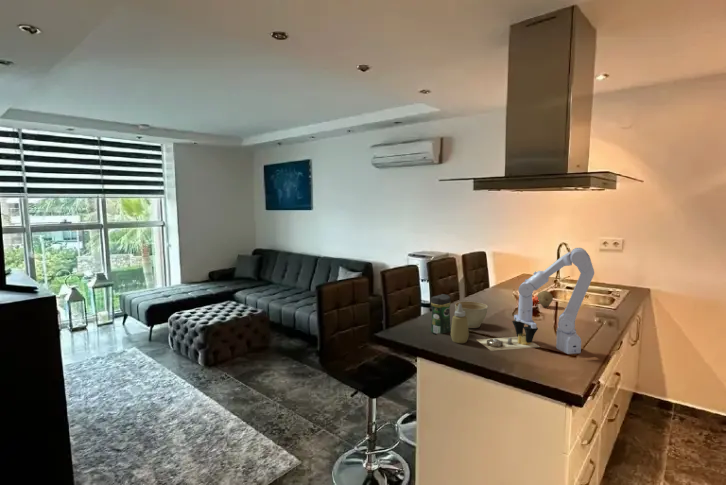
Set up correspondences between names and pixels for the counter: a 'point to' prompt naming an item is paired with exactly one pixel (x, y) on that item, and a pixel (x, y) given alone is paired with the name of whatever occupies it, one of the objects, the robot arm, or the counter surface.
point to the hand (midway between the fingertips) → (524, 339)
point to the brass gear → (522, 339)
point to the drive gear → (495, 343)
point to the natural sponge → (545, 298)
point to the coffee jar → (440, 314)
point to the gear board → (507, 344)
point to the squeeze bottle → (459, 326)
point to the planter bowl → (473, 312)
